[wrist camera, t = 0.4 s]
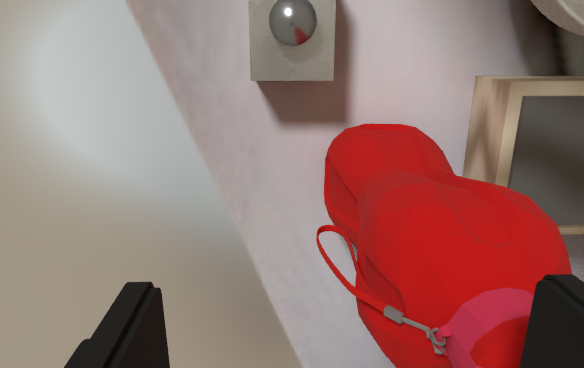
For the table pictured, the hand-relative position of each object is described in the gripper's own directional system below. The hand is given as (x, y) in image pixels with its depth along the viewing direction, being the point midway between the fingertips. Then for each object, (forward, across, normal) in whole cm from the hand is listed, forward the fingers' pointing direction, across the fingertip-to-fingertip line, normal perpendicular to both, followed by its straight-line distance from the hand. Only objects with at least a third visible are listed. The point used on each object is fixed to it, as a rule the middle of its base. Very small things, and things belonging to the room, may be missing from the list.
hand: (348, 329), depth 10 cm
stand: (+27, -20, +2) cm, 34 cm away
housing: (+27, +1, -8) cm, 28 cm away
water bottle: (+27, -6, +4) cm, 28 cm away
